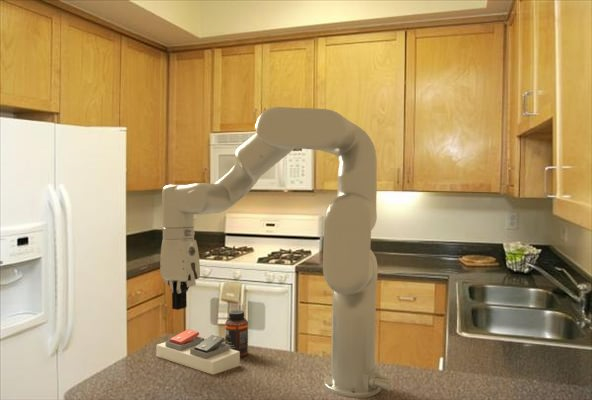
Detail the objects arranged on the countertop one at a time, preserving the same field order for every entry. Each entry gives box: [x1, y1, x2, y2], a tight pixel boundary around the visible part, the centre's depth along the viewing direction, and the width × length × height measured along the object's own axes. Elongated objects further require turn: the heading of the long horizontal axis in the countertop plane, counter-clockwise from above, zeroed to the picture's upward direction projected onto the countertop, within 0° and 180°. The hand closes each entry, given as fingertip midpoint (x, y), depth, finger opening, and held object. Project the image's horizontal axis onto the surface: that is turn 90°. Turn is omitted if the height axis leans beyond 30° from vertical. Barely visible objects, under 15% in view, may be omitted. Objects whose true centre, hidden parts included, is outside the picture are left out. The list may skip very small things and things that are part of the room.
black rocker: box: [195, 334, 225, 353], centre depth 111 cm, size 4×6×2 cm, turn 145°
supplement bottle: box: [224, 309, 249, 358], centre depth 121 cm, size 6×6×11 cm
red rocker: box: [169, 328, 200, 345], centre depth 117 cm, size 4×6×2 cm, turn 145°
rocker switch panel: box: [155, 335, 241, 375], centre depth 114 cm, size 20×9×5 cm, turn 55°
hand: (179, 308), depth 114 cm, fingers closed
